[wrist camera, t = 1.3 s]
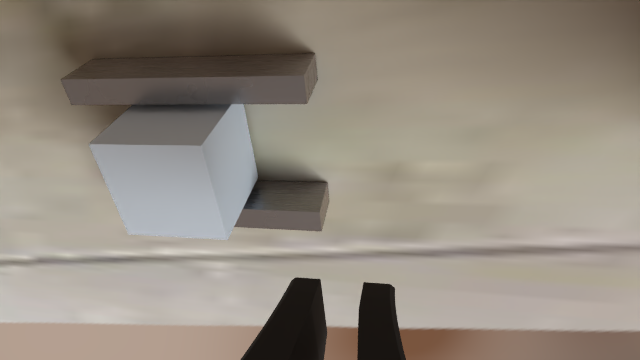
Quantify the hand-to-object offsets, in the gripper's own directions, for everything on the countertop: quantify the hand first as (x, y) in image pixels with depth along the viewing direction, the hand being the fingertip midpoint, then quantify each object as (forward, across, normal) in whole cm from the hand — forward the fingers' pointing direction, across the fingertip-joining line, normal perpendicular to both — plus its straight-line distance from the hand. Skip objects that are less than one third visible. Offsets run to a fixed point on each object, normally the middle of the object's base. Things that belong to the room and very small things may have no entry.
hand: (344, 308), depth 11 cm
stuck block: (+8, +7, 0) cm, 11 cm away
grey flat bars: (+8, +7, 0) cm, 11 cm away
